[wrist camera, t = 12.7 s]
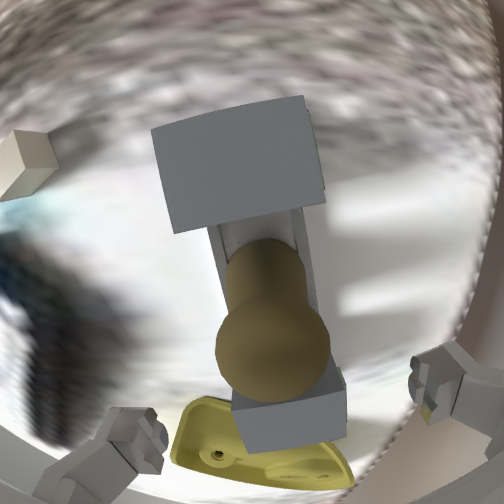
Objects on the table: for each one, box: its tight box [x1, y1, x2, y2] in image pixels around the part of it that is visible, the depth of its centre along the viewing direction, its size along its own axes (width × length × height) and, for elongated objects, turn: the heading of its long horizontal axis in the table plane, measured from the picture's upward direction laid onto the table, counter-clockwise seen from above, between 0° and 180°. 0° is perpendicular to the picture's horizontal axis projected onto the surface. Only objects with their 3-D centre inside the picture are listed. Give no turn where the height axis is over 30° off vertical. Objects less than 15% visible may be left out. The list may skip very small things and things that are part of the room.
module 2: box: [231, 352, 347, 454], centre depth 20 cm, size 5×7×8 cm
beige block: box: [0, 130, 60, 202], centre depth 19 cm, size 4×5×5 cm
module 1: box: [151, 95, 326, 234], centre depth 16 cm, size 5×7×8 cm
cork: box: [215, 240, 330, 403], centre depth 16 cm, size 6×6×11 cm
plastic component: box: [170, 397, 355, 491], centre depth 27 cm, size 20×7×10 cm
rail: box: [207, 207, 319, 314], centre depth 23 cm, size 24×7×2 cm, turn 12°
